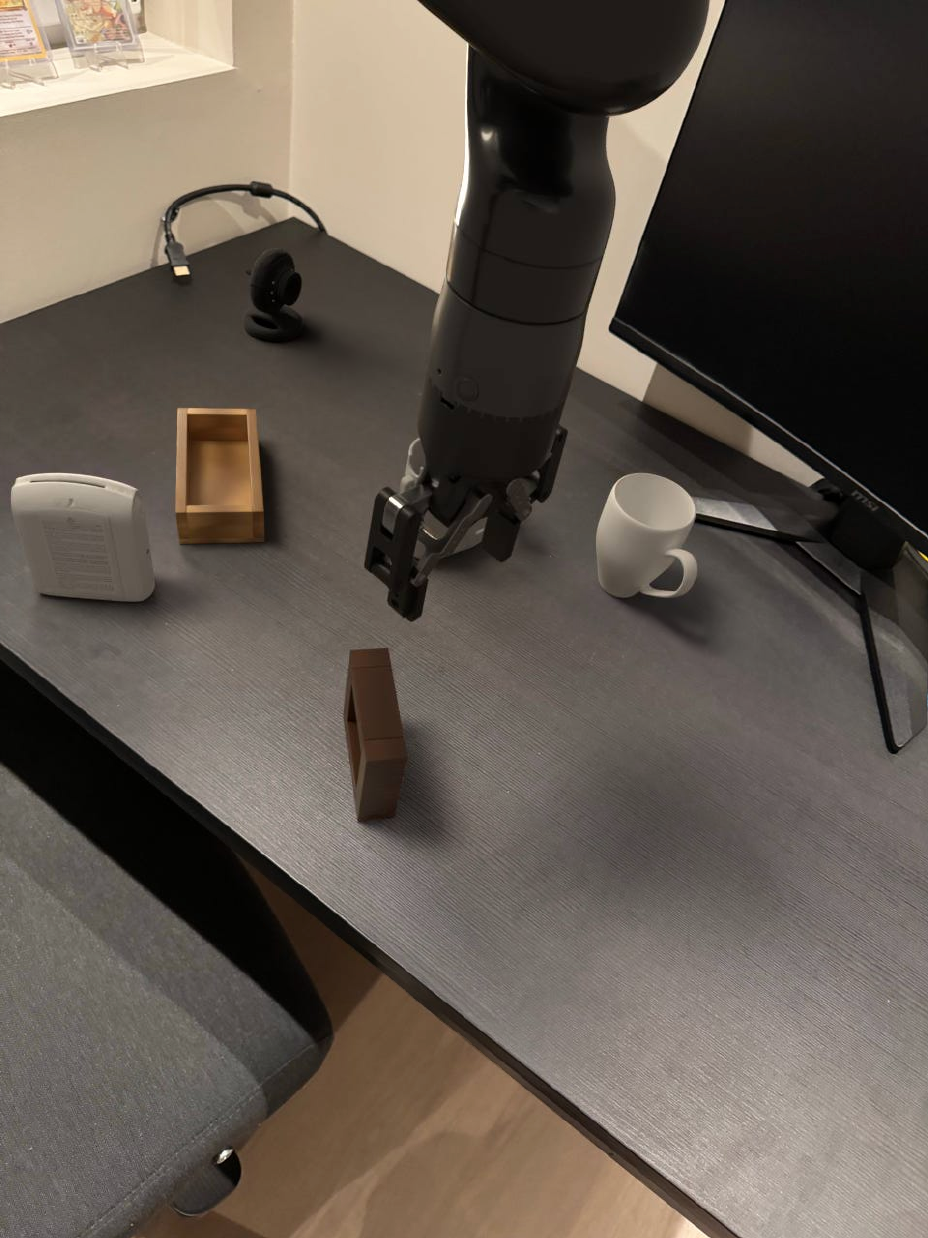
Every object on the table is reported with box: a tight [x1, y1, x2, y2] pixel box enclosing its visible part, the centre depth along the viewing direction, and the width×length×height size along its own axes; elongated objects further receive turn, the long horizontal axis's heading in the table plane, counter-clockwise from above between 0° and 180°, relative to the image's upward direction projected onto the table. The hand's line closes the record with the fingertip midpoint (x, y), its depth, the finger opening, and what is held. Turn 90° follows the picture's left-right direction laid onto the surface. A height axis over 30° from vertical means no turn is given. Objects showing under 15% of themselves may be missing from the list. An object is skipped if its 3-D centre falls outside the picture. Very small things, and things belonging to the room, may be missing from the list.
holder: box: [174, 407, 265, 545], centre depth 86 cm, size 8×16×4 cm, turn 11°
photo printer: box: [10, 472, 156, 603], centre depth 72 cm, size 10×4×12 cm, turn 92°
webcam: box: [242, 247, 304, 342], centre depth 104 cm, size 8×8×10 cm
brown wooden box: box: [342, 647, 409, 823], centre depth 65 cm, size 3×10×9 cm, turn 11°
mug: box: [595, 472, 698, 599], centre depth 82 cm, size 12×8×11 cm
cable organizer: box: [398, 437, 488, 560], centre depth 83 cm, size 7×12×12 cm, turn 123°
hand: (451, 581), depth 55 cm, fingers open, 8 cm apart
